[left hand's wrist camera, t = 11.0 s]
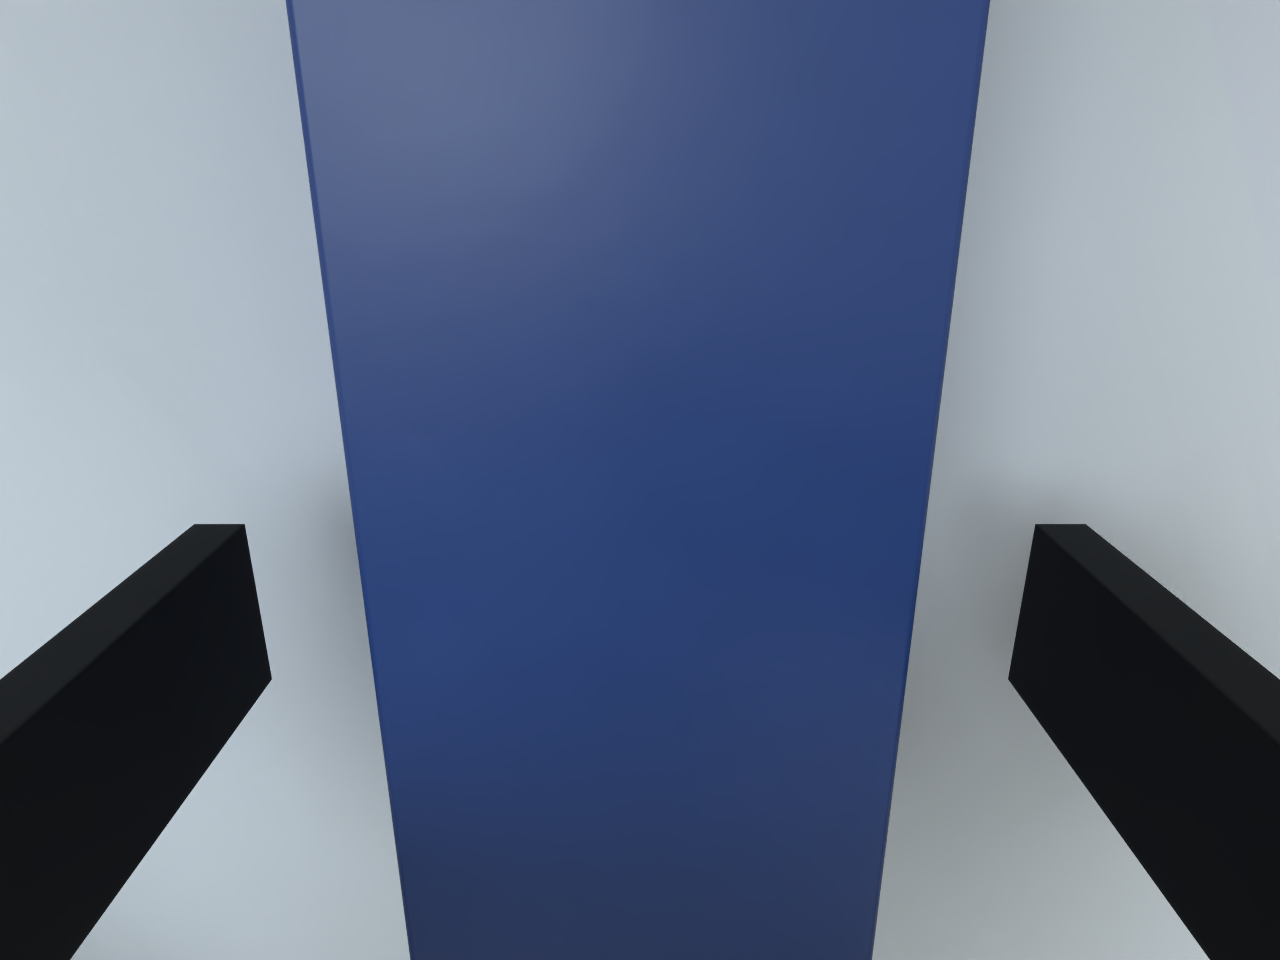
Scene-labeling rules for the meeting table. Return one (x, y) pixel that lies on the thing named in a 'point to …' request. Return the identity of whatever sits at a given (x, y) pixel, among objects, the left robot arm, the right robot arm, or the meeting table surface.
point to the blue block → (639, 446)
